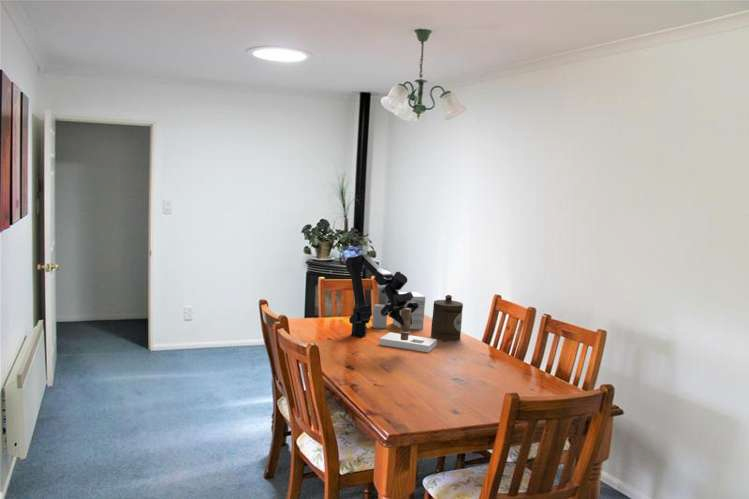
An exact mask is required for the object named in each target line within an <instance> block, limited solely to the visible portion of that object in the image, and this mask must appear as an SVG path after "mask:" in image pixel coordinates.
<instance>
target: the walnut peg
mask: <svg viewBox="0 0 749 499" xmlns="http://www.w3.org/2000/svg"><path fill="white" fill-rule="evenodd" d="M401 318H402V320H403V322H404V325H403V326H402V325H401V324H400V328H399V332H400V334H401V340H408V335H409V334H410V333H411V329H410V321H411V309H410V308H402V310H401Z"/></svg>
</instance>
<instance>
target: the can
mask: <svg viewBox="0 0 749 499" xmlns="http://www.w3.org/2000/svg"><path fill="white" fill-rule="evenodd" d="M385 305H386V304H381V303H380V304H379V303H378V304H377V303H376V304H374V307H373V308H372V324H371V325H372V328H374V329H379V330H383V329H385V328H386V327H387V323H388V321H387V320H388V315H387V316H382V315H381V310H382V308H383V307H384V306H385Z"/></svg>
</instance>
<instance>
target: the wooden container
mask: <svg viewBox="0 0 749 499" xmlns="http://www.w3.org/2000/svg"><path fill="white" fill-rule="evenodd" d="M444 297H445V298H444V299H437V300H434V301H433V309H432V318H431V327H430V328H431V330H430V337H431V339H437V341H439V340H440V342H447V341H453V342H458V341H460V340H461V331H462V321H463V308H464V305H463V304H464V303H463V302H461V301H456V300H453V296H452V295H450V294H447V295H445V296H444Z"/></svg>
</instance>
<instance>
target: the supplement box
mask: <svg viewBox="0 0 749 499" xmlns="http://www.w3.org/2000/svg"><path fill="white" fill-rule="evenodd" d="M398 292H399V294H406V293H408V292H409V291H398ZM410 292H411V293H412V294H413V298H412V299H411V300H409V301H407V303H406V304H405V306H407V305H408V304H409V303H410V302H417V304H418V306H419V307H418V308H417V309H416V310H415V311H414V312H413V313H411V316H412V324H411V325H410V330H423V329H424V321H425V320H424V319H425V308H426V307H425V306H426V296H425V295H423V294H422V293H419V292H417V291H410ZM400 315H401V311H400ZM392 324H393V325H395V326H396V327H397V328H399V329H400V323H398V322H397V321H396V320H394V319H393V318H392Z"/></svg>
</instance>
